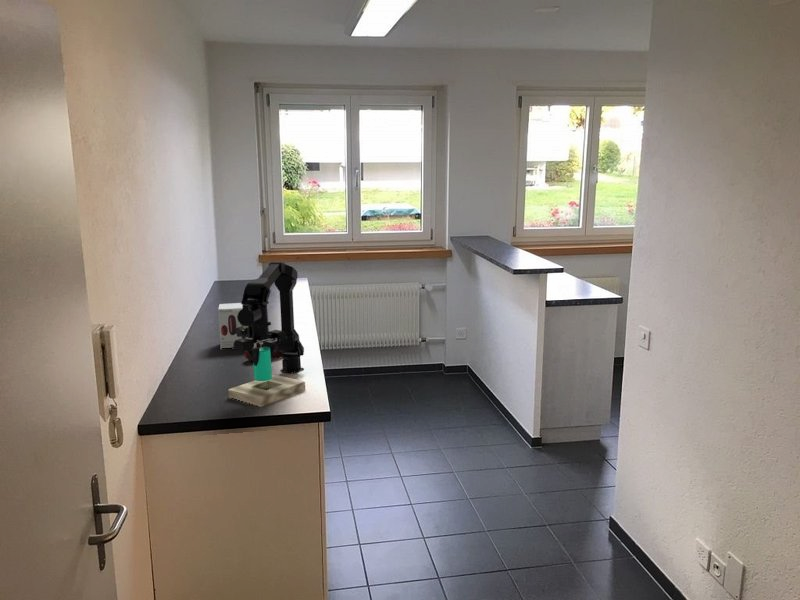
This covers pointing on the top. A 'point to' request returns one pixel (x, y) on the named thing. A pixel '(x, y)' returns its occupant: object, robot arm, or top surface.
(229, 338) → the supplement box
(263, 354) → the candle
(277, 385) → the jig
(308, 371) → the top surface
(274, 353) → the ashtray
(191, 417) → the top surface
